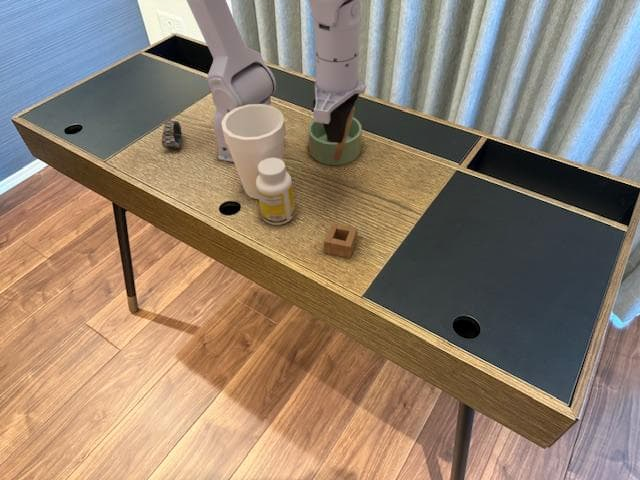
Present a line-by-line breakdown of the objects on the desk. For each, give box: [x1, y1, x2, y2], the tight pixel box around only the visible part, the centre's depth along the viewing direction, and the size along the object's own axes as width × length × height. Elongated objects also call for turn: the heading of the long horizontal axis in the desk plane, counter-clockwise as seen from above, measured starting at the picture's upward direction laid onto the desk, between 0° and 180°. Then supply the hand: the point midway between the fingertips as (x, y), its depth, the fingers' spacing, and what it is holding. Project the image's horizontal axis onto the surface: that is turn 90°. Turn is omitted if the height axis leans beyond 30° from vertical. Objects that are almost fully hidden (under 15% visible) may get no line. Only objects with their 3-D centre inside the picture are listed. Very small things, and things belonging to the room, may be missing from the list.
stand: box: [323, 222, 359, 259], centre depth 72 cm, size 4×4×2 cm
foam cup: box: [221, 104, 287, 200], centre depth 77 cm, size 10×9×13 cm
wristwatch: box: [161, 120, 183, 150], centre depth 90 cm, size 3×5×5 cm
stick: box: [333, 105, 356, 161], centre depth 73 cm, size 1×1×10 cm
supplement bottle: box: [256, 158, 296, 226], centre depth 74 cm, size 5×5×10 cm
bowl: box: [307, 116, 363, 166], centre depth 87 cm, size 9×9×4 cm
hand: (336, 137), depth 74 cm, fingers closed on stick, 1 cm apart
